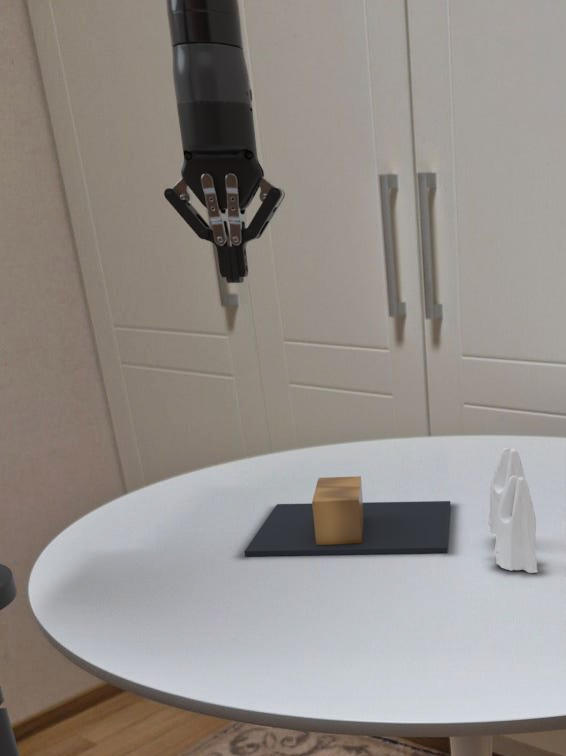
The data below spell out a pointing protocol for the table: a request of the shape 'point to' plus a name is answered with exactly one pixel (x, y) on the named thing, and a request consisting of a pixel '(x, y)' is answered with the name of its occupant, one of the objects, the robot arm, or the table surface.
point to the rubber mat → (380, 530)
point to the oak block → (338, 511)
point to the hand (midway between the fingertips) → (235, 282)
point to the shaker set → (512, 515)
